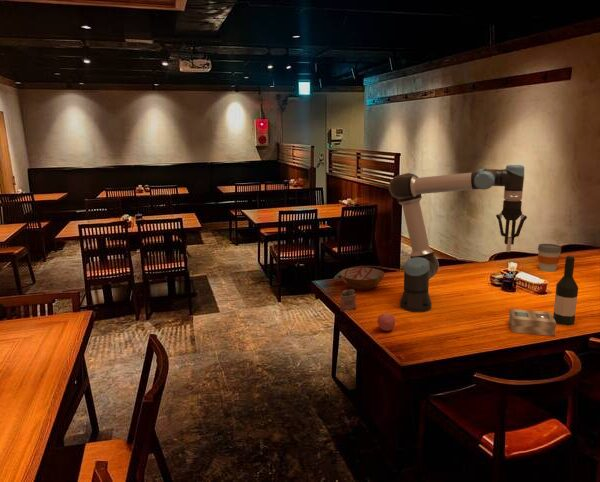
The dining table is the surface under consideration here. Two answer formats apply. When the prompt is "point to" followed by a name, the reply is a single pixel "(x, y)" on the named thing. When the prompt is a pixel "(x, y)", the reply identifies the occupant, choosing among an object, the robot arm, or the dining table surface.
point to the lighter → (347, 300)
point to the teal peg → (521, 314)
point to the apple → (386, 321)
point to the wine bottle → (566, 295)
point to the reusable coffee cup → (548, 257)
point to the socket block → (532, 323)
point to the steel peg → (542, 316)
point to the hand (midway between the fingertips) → (508, 251)
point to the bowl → (361, 277)
